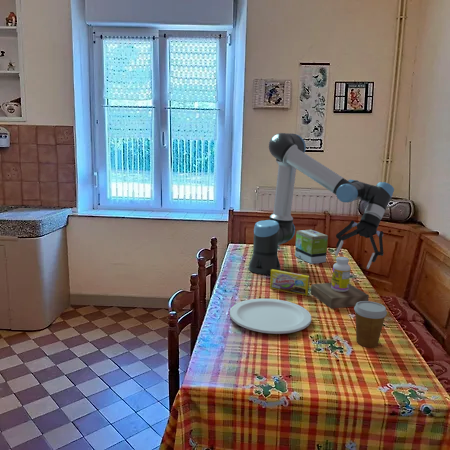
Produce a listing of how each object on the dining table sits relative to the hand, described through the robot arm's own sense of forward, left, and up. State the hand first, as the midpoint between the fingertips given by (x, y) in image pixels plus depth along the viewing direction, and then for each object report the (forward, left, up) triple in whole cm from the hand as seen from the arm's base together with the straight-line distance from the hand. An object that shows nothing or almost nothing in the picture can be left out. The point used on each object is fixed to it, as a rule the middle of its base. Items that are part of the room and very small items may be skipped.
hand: (351, 261), depth 172 cm
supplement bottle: (-9, -7, -9) cm, 15 cm away
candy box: (-25, +5, -13) cm, 29 cm away
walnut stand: (-9, -7, -13) cm, 18 cm away
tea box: (+7, +48, -13) cm, 50 cm away
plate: (-43, -19, -13) cm, 49 cm away
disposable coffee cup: (-20, -42, -13) cm, 49 cm away
